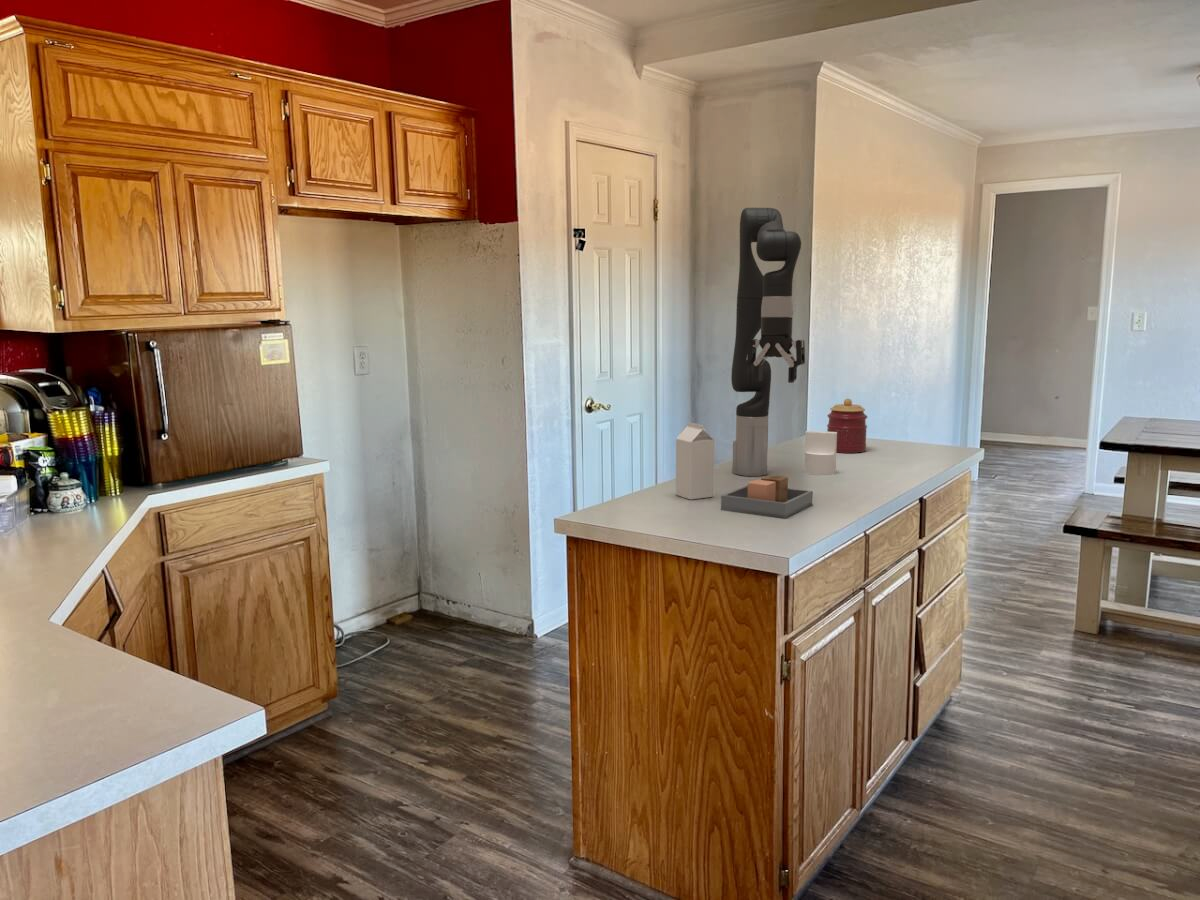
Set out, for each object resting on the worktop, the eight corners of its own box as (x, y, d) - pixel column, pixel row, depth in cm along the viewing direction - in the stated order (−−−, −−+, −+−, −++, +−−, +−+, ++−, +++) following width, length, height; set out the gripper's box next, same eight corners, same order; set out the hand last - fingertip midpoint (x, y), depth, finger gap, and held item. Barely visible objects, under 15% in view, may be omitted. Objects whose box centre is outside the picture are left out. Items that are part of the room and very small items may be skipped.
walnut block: (760, 502, 218) (760, 478, 217) (768, 498, 222) (769, 475, 221) (779, 504, 215) (779, 480, 214) (787, 500, 219) (788, 477, 218)
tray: (720, 509, 214) (721, 495, 213) (750, 497, 227) (750, 483, 227) (785, 518, 204) (785, 503, 204) (812, 505, 218) (812, 491, 217)
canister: (827, 453, 293) (829, 400, 290) (824, 447, 305) (826, 396, 302) (868, 454, 291) (870, 400, 288) (863, 447, 303) (865, 396, 300)
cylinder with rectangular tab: (801, 474, 258) (803, 433, 256) (806, 468, 266) (808, 429, 264) (833, 476, 254) (834, 435, 252) (837, 470, 262) (839, 430, 260)
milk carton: (690, 500, 224) (691, 426, 221) (675, 495, 230) (675, 423, 227) (713, 497, 227) (714, 424, 224) (698, 492, 234) (699, 421, 230)
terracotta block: (747, 507, 212) (747, 483, 211) (756, 503, 216) (756, 479, 215) (766, 510, 209) (767, 485, 208) (775, 506, 213) (775, 481, 212)
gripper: (743, 315, 216) (742, 381, 219) (798, 315, 208) (796, 384, 211) (756, 315, 222) (755, 379, 225) (810, 315, 214) (808, 381, 217)
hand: (775, 381), depth 218 cm, fingers open, 8 cm apart
